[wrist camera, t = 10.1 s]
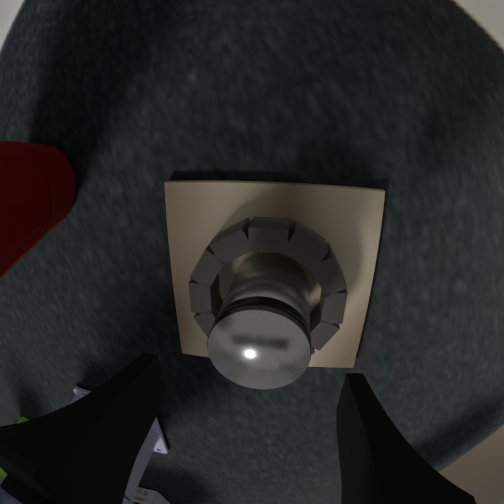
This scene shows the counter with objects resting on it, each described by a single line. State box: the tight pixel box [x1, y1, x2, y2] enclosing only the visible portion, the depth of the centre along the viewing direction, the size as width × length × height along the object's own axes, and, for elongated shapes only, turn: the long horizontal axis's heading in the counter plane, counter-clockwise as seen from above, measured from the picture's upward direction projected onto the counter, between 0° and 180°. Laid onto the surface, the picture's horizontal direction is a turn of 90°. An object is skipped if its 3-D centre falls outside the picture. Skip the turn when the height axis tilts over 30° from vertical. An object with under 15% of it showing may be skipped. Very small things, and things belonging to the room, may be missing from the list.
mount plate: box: [164, 180, 385, 368], centre depth 18 cm, size 12×12×3 cm
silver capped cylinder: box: [207, 253, 311, 389], centre depth 16 cm, size 4×4×6 cm
